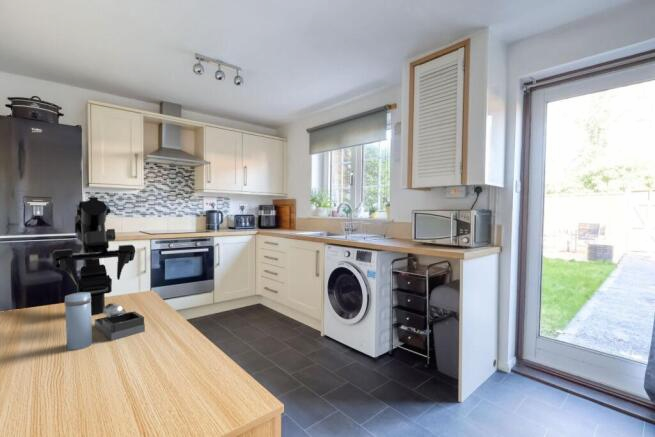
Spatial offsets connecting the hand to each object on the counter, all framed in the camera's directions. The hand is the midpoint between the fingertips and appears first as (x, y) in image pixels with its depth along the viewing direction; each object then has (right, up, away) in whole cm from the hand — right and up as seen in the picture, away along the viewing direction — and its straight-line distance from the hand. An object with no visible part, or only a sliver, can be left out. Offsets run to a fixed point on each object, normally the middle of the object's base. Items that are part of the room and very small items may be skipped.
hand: (98, 281), depth 85 cm
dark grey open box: (+4, -14, +3) cm, 15 cm away
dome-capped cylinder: (+1, -15, -7) cm, 16 cm away
